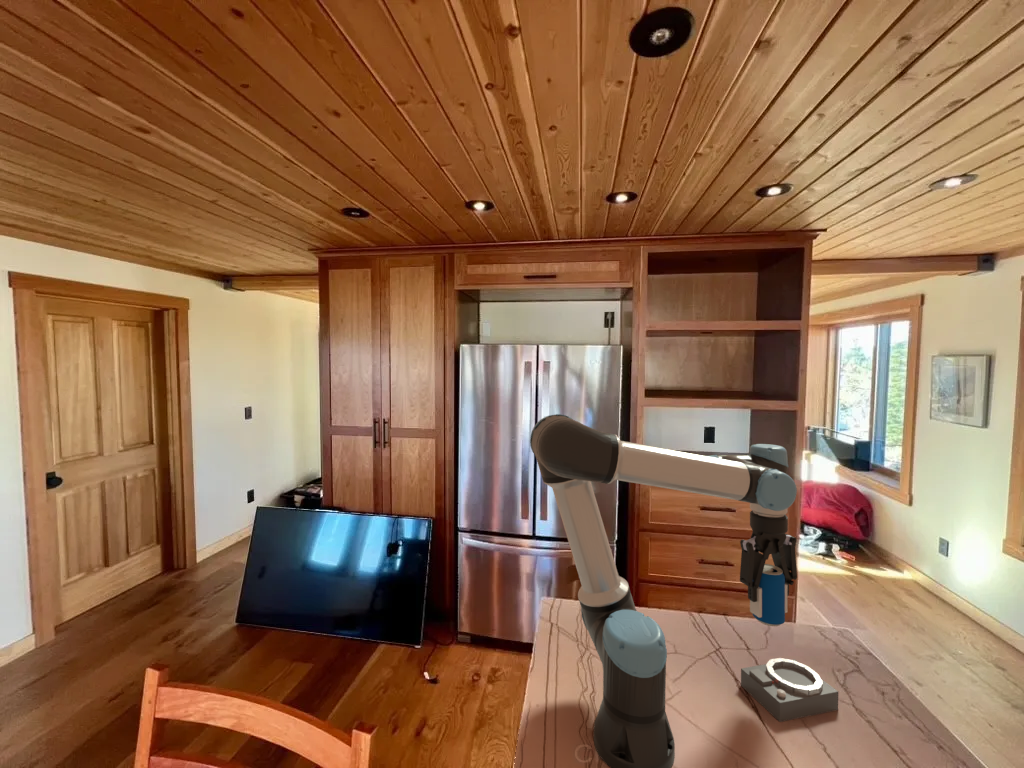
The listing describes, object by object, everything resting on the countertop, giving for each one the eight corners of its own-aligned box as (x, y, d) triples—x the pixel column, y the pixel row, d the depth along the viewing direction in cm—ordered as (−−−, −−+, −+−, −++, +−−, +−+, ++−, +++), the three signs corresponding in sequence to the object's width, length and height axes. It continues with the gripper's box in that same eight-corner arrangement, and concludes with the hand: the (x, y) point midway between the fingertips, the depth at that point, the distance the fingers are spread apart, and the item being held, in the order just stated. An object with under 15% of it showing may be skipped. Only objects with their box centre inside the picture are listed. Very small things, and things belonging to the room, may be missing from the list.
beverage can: (790, 629, 97) (790, 575, 97) (758, 627, 98) (758, 574, 98) (777, 613, 104) (777, 563, 104) (748, 611, 105) (748, 561, 105)
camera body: (779, 721, 91) (780, 699, 91) (740, 685, 102) (741, 664, 102) (838, 709, 94) (838, 687, 94) (794, 675, 105) (794, 656, 105)
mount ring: (793, 698, 92) (794, 693, 92) (756, 666, 102) (756, 661, 102) (834, 691, 94) (834, 685, 94) (793, 660, 105) (793, 655, 105)
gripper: (745, 521, 95) (746, 627, 95) (817, 513, 99) (817, 614, 100) (721, 511, 102) (721, 609, 102) (788, 504, 107) (788, 598, 107)
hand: (768, 611), depth 101 cm, fingers closed on beverage can, 6 cm apart
